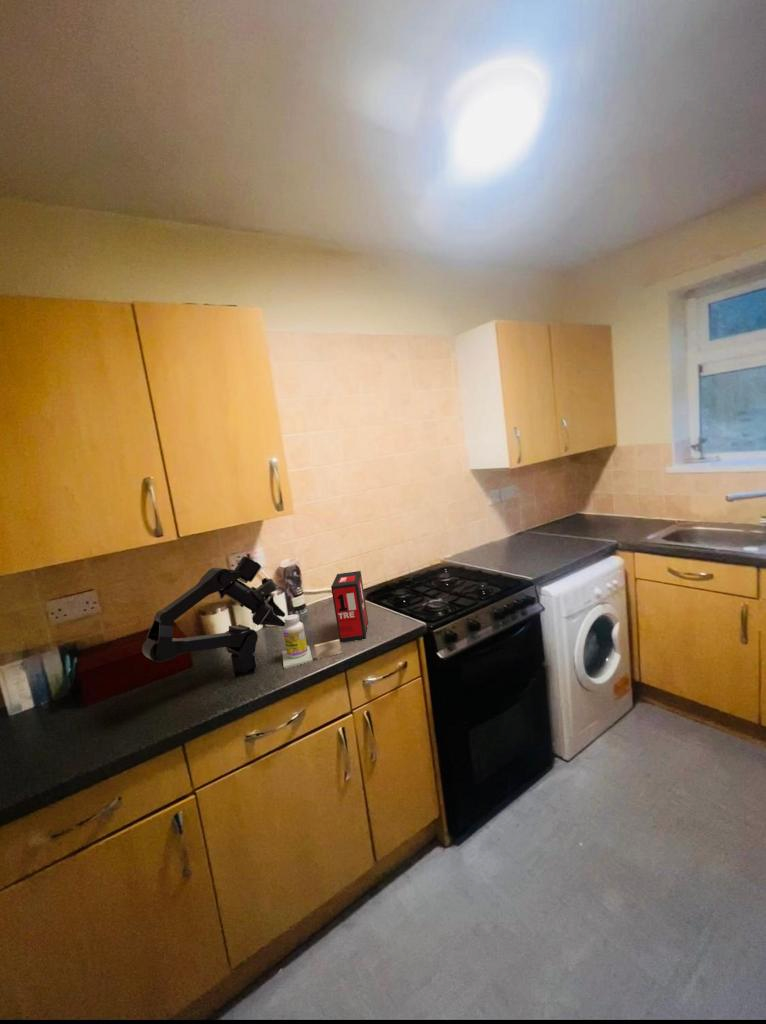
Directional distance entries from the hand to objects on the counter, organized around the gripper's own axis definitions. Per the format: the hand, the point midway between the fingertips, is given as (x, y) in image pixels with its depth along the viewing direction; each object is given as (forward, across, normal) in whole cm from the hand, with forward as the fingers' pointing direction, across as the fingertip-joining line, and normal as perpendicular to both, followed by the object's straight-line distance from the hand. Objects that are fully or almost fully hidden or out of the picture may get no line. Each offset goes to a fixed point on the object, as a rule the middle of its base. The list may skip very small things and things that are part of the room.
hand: (284, 620), depth 142 cm
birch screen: (+18, -4, +1) cm, 18 cm away
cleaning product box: (+26, +11, -6) cm, 29 cm away
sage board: (+11, 0, +8) cm, 13 cm away
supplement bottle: (+10, +1, +7) cm, 13 cm away
